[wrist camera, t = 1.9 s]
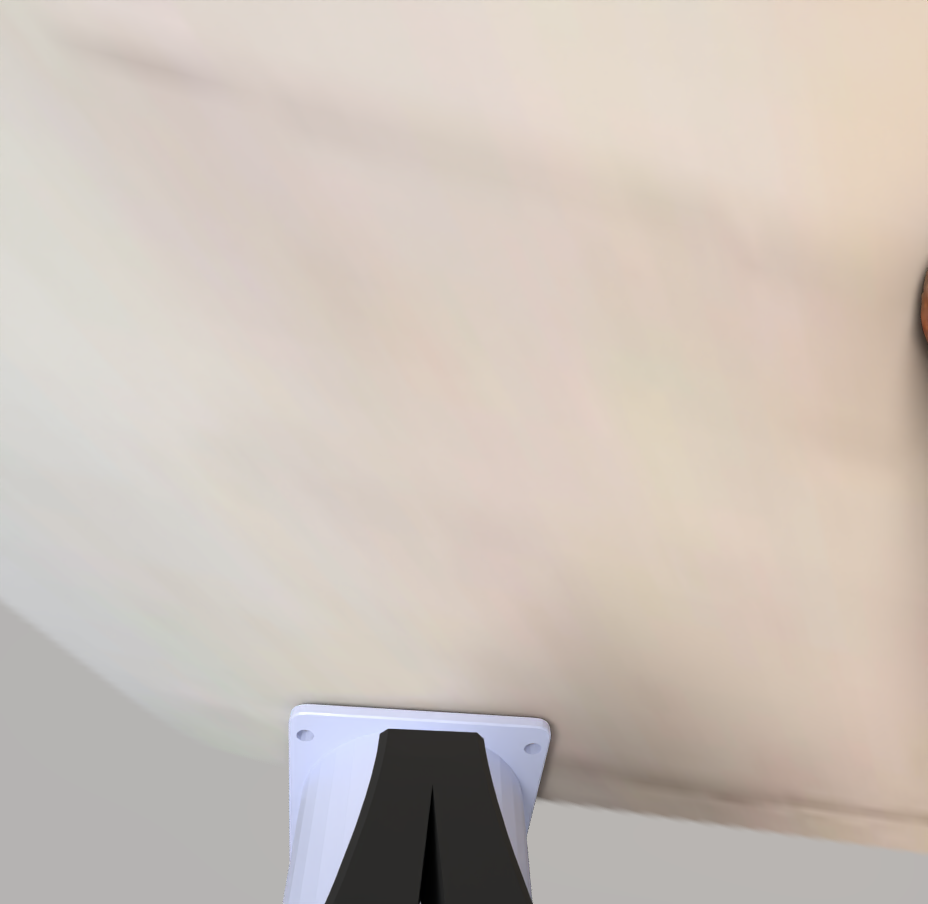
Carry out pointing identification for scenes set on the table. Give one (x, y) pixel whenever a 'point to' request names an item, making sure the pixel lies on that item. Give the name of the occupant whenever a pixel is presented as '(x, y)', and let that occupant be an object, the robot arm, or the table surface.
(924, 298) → the sauce bottle
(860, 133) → the table surface
